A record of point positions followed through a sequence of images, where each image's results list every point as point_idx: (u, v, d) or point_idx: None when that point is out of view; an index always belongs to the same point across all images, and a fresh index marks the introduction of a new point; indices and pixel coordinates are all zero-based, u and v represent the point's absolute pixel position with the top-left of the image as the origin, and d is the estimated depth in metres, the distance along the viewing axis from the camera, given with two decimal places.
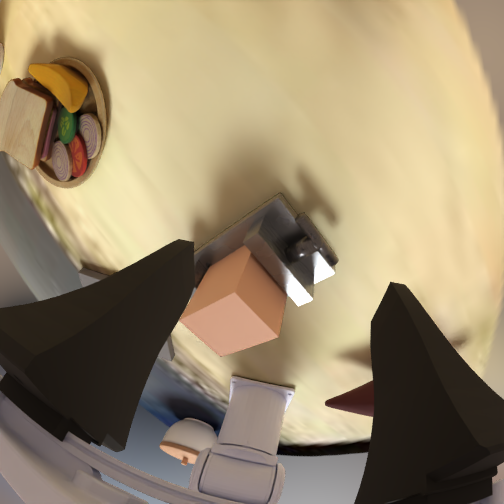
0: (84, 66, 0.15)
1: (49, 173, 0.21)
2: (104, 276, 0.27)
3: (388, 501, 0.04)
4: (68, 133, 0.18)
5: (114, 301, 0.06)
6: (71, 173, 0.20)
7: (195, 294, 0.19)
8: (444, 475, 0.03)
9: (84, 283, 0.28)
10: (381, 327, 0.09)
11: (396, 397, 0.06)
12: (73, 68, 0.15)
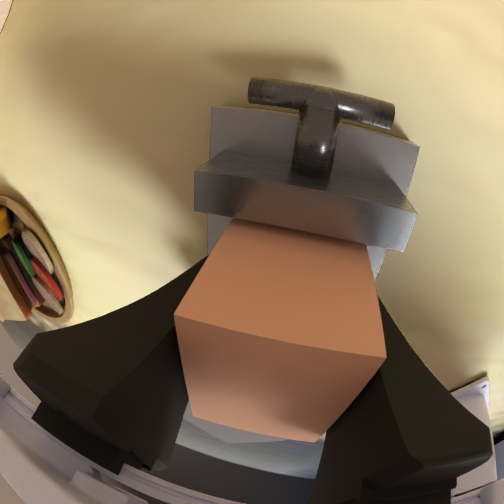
0: None
1: (54, 314, 0.20)
2: None
3: (331, 503, 0.04)
4: (25, 264, 0.15)
5: (170, 318, 0.06)
6: (57, 300, 0.17)
7: None
8: (380, 483, 0.03)
9: None
10: None
11: None
12: None
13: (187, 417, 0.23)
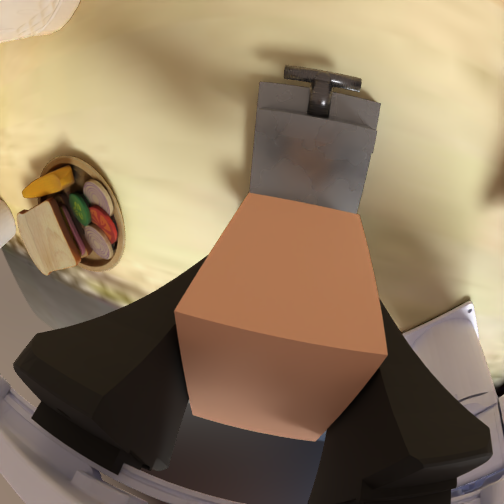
0: (58, 157, 0.19)
1: (100, 263, 0.25)
2: None
3: (331, 503, 0.04)
4: (83, 211, 0.21)
5: (169, 318, 0.06)
6: (110, 242, 0.23)
7: None
8: (380, 483, 0.03)
9: None
10: None
11: None
12: (55, 169, 0.21)
13: None
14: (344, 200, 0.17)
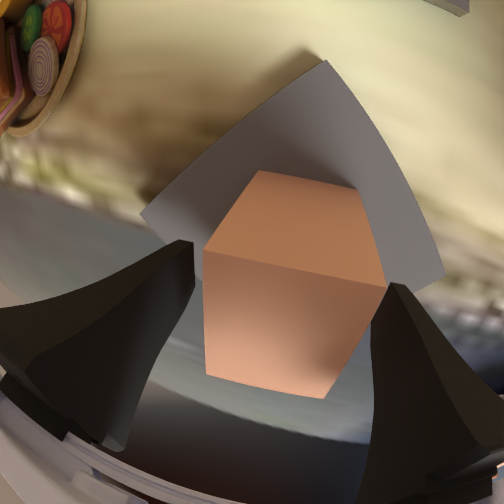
0: None
1: (40, 112, 0.11)
2: None
3: (388, 501, 0.04)
4: (33, 21, 0.07)
5: (114, 301, 0.06)
6: (57, 49, 0.09)
7: None
8: (444, 475, 0.03)
9: (164, 228, 0.13)
10: (381, 327, 0.09)
11: (396, 397, 0.06)
12: None
13: None
14: None
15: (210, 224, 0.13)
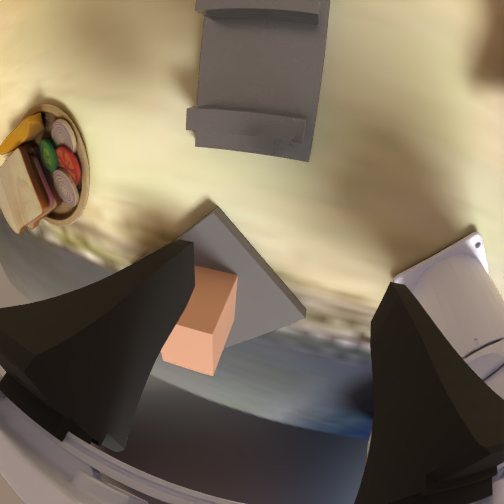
0: (31, 109, 0.17)
1: (69, 214, 0.22)
2: None
3: (388, 501, 0.04)
4: (50, 155, 0.18)
5: (114, 301, 0.06)
6: (74, 183, 0.20)
7: None
8: (444, 475, 0.03)
9: None
10: (381, 327, 0.09)
11: (396, 397, 0.06)
12: None
13: None
14: (302, 84, 0.13)
15: None
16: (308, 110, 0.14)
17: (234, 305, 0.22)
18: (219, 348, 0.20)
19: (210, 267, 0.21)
